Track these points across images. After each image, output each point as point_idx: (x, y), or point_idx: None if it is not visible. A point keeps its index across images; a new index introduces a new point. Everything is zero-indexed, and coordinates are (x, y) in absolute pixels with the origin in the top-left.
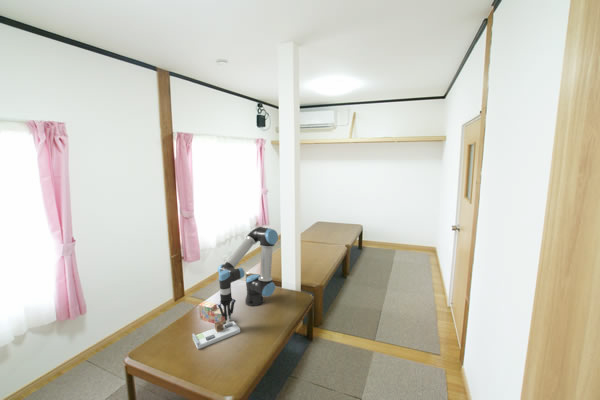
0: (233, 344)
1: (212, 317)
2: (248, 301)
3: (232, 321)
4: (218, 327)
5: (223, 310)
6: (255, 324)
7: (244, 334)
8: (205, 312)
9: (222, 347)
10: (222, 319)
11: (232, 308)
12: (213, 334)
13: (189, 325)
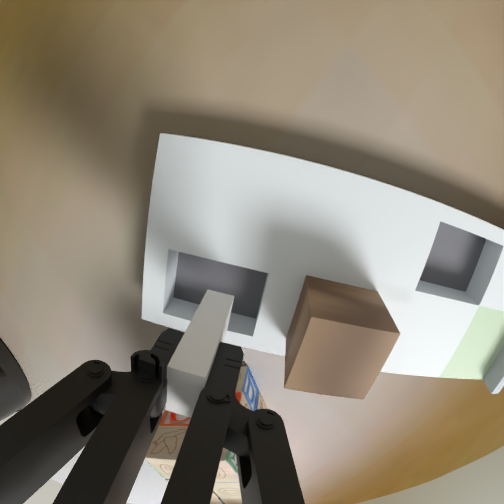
0: (344, 24)
1: None
2: (4, 382)
3: (152, 321)
4: (374, 315)
5: (170, 470)
6: (35, 145)
7: (169, 70)
8: None
9: (438, 81)
10: None
11: (38, 422)
12: (419, 290)
13: (373, 472)
